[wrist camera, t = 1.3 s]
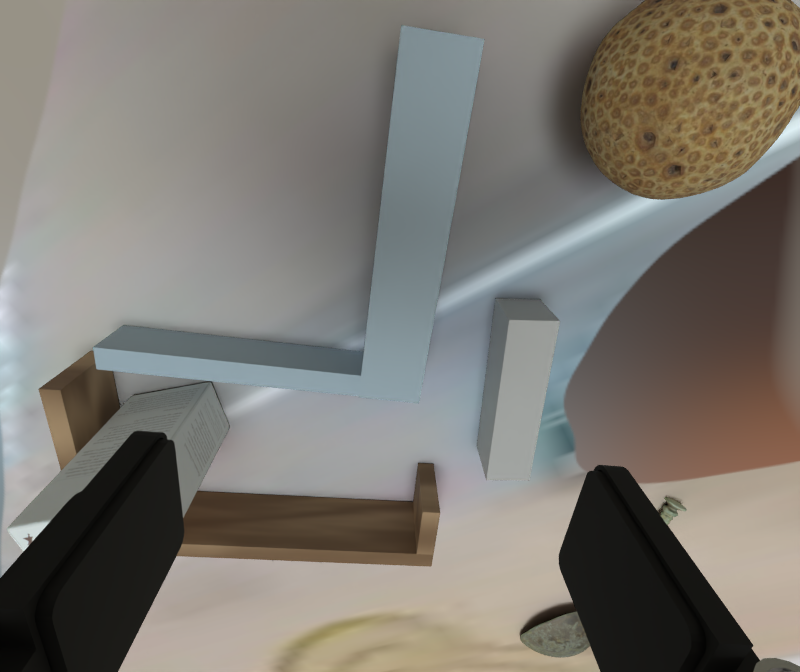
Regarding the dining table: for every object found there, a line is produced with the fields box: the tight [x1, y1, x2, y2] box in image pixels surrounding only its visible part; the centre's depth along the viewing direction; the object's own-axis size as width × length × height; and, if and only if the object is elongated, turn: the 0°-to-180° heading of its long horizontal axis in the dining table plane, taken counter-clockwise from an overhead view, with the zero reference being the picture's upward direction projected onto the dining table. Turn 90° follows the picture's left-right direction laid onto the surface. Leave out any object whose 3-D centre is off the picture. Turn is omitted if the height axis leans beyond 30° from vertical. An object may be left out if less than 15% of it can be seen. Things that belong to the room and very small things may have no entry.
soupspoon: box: [520, 497, 686, 657], centre depth 41 cm, size 22×3×7 cm
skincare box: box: [7, 382, 229, 552], centre depth 27 cm, size 6×4×12 cm
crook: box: [93, 25, 485, 403], centre depth 25 cm, size 20×20×6 cm
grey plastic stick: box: [477, 298, 560, 481], centre depth 31 cm, size 12×3×4 cm, turn 178°
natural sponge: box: [580, 0, 800, 200], centre depth 21 cm, size 9×9×10 cm
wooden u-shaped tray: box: [39, 351, 440, 566], centre depth 32 cm, size 13×24×5 cm, turn 85°
